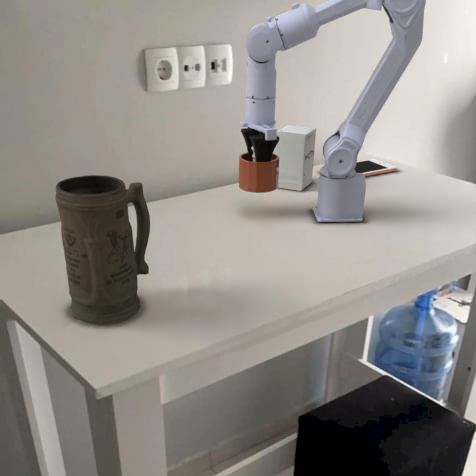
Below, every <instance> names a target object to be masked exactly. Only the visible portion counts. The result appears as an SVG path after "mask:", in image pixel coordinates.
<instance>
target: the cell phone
mask: <svg viewBox="0 0 476 476" xmlns="http://www.w3.org/2000/svg"><path fill="white" fill-rule="evenodd" d="M354 169H355V171H356V173H363V174H364V175H365V177H370V176H374V175H379V174H385V173H386V174H387V173H391V172H397V171H398V167H397V166H395V165H393V164H390V163H388V162H386V161H382V160H379V159H377V158H372V159H366V160H359V161H357V163H356V166H355V168H354Z"/></svg>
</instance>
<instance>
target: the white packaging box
mask: <svg viewBox="0 0 476 476" xmlns="http://www.w3.org/2000/svg"><path fill="white" fill-rule="evenodd" d="M316 134H317V127H313V126H312V127H310V126H304V125H302V126H301V125H293V124H292V125H291V124H287V125H284V127H282V128H280V129H277V136H278V137H279V142H278V144H277V145H276V147H275V149H274V154H276V155H278V156H279V178H278V188H280V189H284V190H291V191H292V190H293V191H298V192H302V191H303V190H304V189H305V188H306V187H308V186H309V185H310V184H312V182H313V174H314V173H313V172H314V162H315V161H314V159H315V148H316V147H315V146H316V136H317V135H316Z"/></svg>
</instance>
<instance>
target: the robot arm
mask: <svg viewBox="0 0 476 476" xmlns="http://www.w3.org/2000/svg"><path fill="white" fill-rule="evenodd" d="M426 4H427V0H327V1H324V2H322V3H321V4H318V5H316V6H312V5H311V4H309V3H307V2H304V3H302V4H301V3H300V4H299V2H298V1H296V2H295V3H293V4H291V9H289V10H287V11H285V12H283V13H281V14H279V15H276V16H274V17H273V16H272V15H269V16H267V17H266V22H267V23H264V22H260V23H257V24H255V25H253V26H252V28H250V31H248V34H247V37H246V40H245V48H246V49H245V50H246V51H247V54H248V55H247V58H246V66H247V68H246V71H245V113H244V119H243V120H240V121H239V125H240V126H241V127H243V128H241V129H240V132H241V135H242V137H243V139H244V142H245V145H246V152H248V157H249V161H252V162H253V157H252V155H253V151H252V149H251V148H252V146H253V148H254V153H255V161H256V162H268V161H271V158H272V154H273V153H275V147H276V145H277V144H278V142H279V137H278V136H277V131H278V129H277V128H276V127H277V126H276V125H277V124H276V123H277V121H276V96H277V95H276V94H277V73H278V72H277V68H276V56H277V53H278V52H279V51H280V52H286V51H288V50H290V49H292V48H295V47H297V46H299V45H301V44H303V43H305V42H307V41H310V40H313V39H314V38H316V36H317V35H318V32H319V30H320V28H321V27H322V26H324V25H326V24H329V23H331V22H333V21H337V20H339V19H340V18H343V17H346V16H348V15H350V14H353V13H355V12H357V11H360V10H362V9H368V10H372V11H373V10H374V11H380V12H381V11H382V8H383V11H384V12H385V13H386V16H387V17H388V21H389V26H390V31H391V37H392V39H391V40H390V43H389V44H388V46H387V47H386V49H385V50H384V53H383V54H382V56H381V57H380V60H379V62H378V63H377V65H376V67H375V68H374V70H373V71H372V73H371V74H370V76H369V78H368V80H367V82H366V84H365V86H364V87H363V89H362V91H361V92H360V93H359V96H358V98H357V99H356V101H355V103H354V105H353V106H352V108H351V109H350V111H349V112H348V115H347V117H346V118H345V119H344V121H343V122H341V123H340V124H339V126H338V128H337V129H336V131H335V132H334V133H333V134H332V135H330V136H328V137H327V138H326V140H325V141H324V143H323V146H322V155H323V159H324V165H323V166H322V167H321V168H320V169H319V177H318V179H319V180H318V190H317V191H318V192H317V204H316V206H313V207H312V208H311V209H312V210H311V211H312V212H313V215H314V217H315V219H316V221H317V222H318V223H347V222H348V223H350V222H351V223H355V222H356V223H357V222H360V223H361V222H363V220H364V218H363V215H364V214H363V213H364V208H365V207H364V206H365V198H366V190H367V189H366V188H367V179H366V176H365V175H364V174H363V173H356V171H355V169H354V168H355V166H356V163H357V162H358V157H359V153H360V151H361V150H362V147H363V145H364V143H365V139H366V136H367V134H368V132H369V130H370V129H371V127H372V125H373V123H374V122H375V120H376V119H377V117H378V115H379V114H380V112H381V111H382V109H383V107H384V106H385V104H386V102H387V100H388V99H389V98H390V95H391V94H392V92H393V90H394V89H395V88H396V85H397V84H398V83H399V81H400V79H401V77H403V74H404V73H405V71H406V69H407V68H408V66H409V64H410V63H411V61H412V60H413V58H414V56H415V55H416V53H417V51H418V50H419V48H420V46H421V44H422V42H423V36H424V35H423V33H424V22H425V21H424V20H425V19H424V18H425V9H426Z"/></svg>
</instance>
